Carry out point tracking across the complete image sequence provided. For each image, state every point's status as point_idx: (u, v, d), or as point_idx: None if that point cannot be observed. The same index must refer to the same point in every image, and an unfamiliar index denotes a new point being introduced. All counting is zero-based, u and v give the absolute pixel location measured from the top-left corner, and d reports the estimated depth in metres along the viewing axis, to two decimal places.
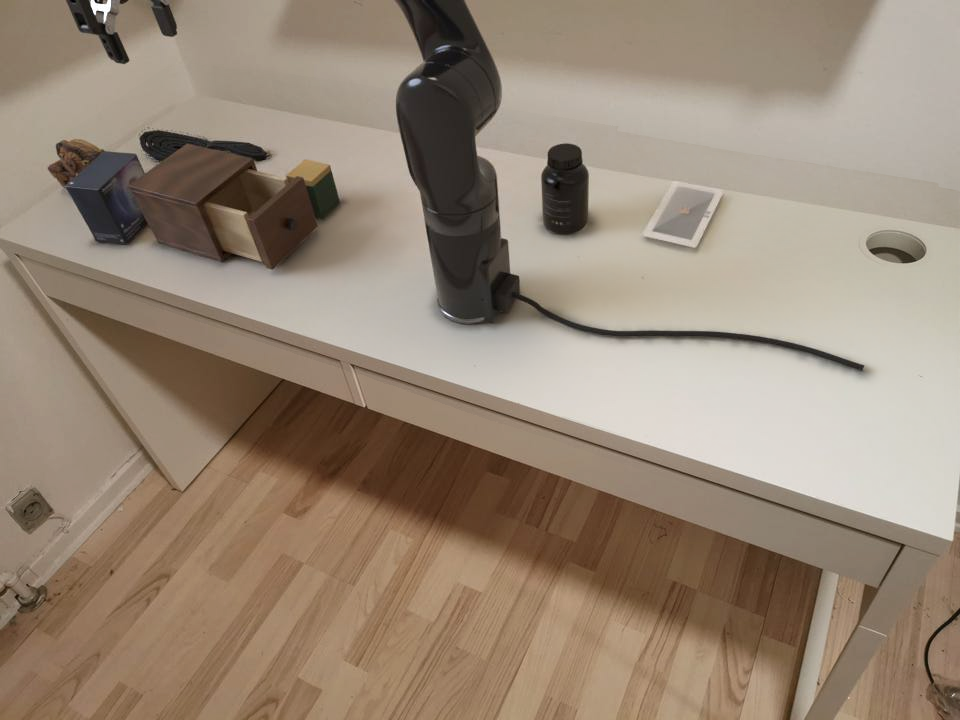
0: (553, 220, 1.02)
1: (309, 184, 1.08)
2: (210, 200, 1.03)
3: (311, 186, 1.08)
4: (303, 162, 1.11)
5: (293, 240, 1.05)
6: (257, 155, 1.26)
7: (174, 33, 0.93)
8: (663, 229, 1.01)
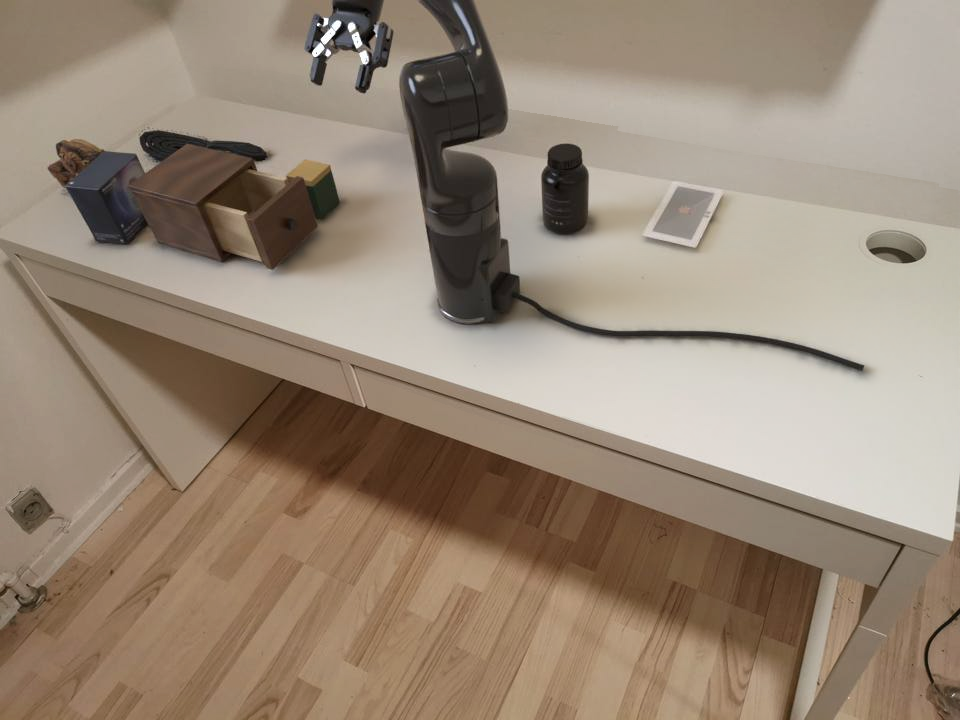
0: (553, 220, 1.02)
1: (309, 184, 1.08)
2: (210, 200, 1.03)
3: (311, 186, 1.08)
4: (303, 162, 1.11)
5: (293, 240, 1.05)
6: (257, 155, 1.26)
7: (356, 86, 1.08)
8: (663, 229, 1.01)
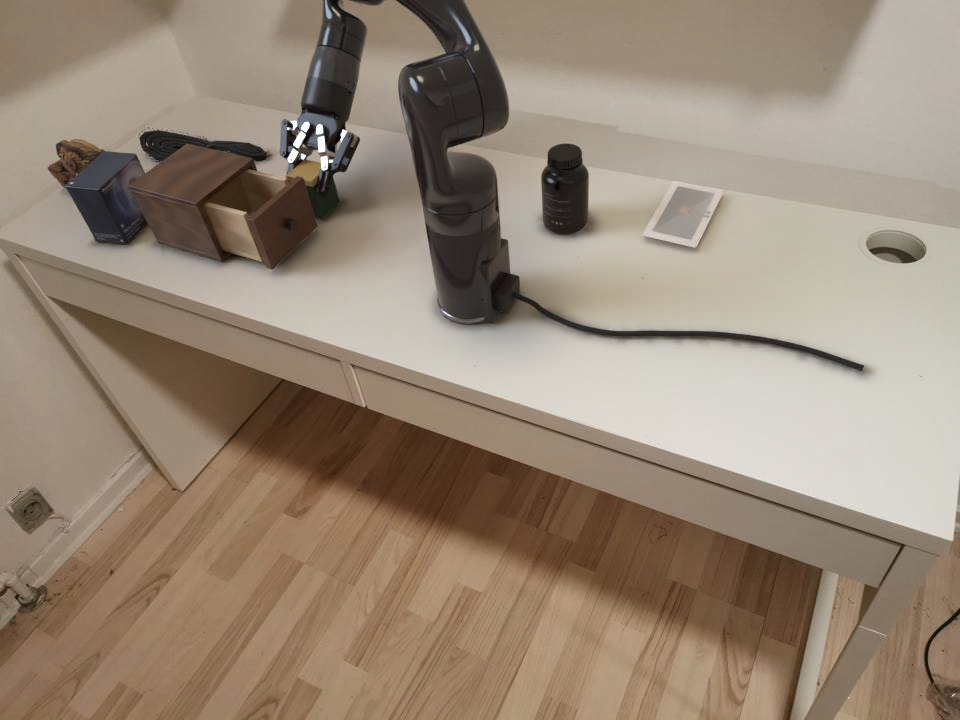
0: (553, 220, 1.02)
1: (309, 184, 1.08)
2: (210, 200, 1.03)
3: (311, 186, 1.08)
4: (303, 162, 1.11)
5: (293, 240, 1.05)
6: (257, 155, 1.26)
7: (315, 191, 1.08)
8: (663, 229, 1.01)
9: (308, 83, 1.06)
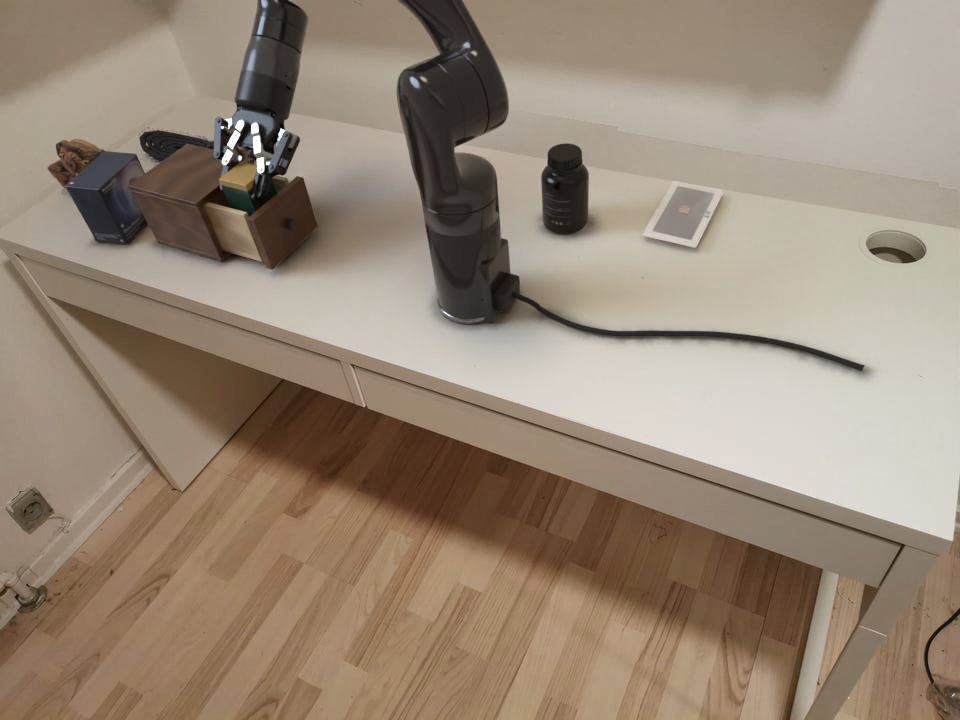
0: (553, 220, 1.02)
1: (244, 188, 0.98)
2: (210, 200, 1.03)
3: (246, 191, 0.98)
4: (239, 164, 1.01)
5: (293, 240, 1.05)
6: None
7: (251, 196, 0.98)
8: (663, 229, 1.01)
9: (241, 77, 0.96)
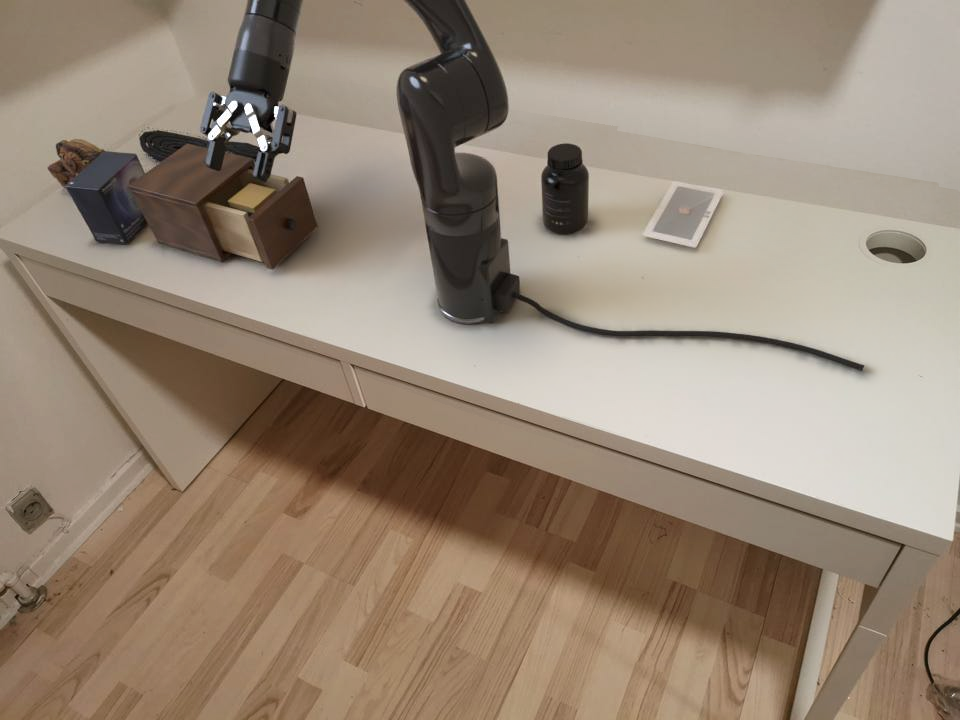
0: (553, 220, 1.02)
1: (252, 211, 1.00)
2: (210, 200, 1.03)
3: None
4: (248, 186, 1.04)
5: (293, 240, 1.05)
6: None
7: (254, 175, 0.96)
8: (663, 229, 1.01)
9: (234, 57, 0.94)
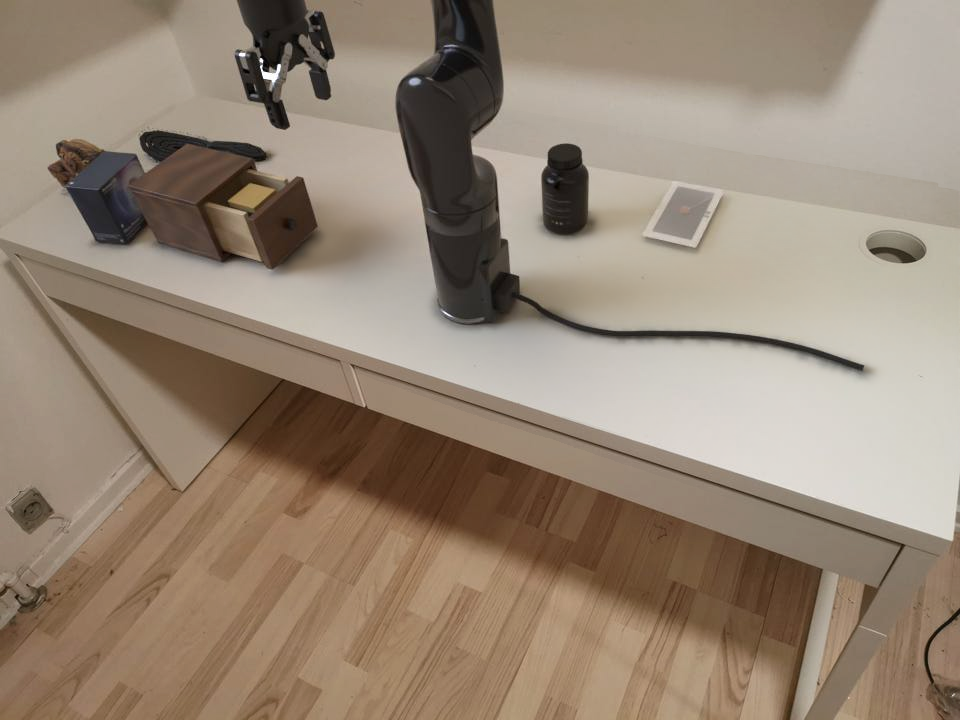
0: (553, 220, 1.02)
1: (252, 211, 1.00)
2: (210, 200, 1.03)
3: None
4: (248, 186, 1.04)
5: (293, 240, 1.05)
6: (257, 155, 1.26)
7: (328, 96, 0.93)
8: (663, 229, 1.01)
9: None
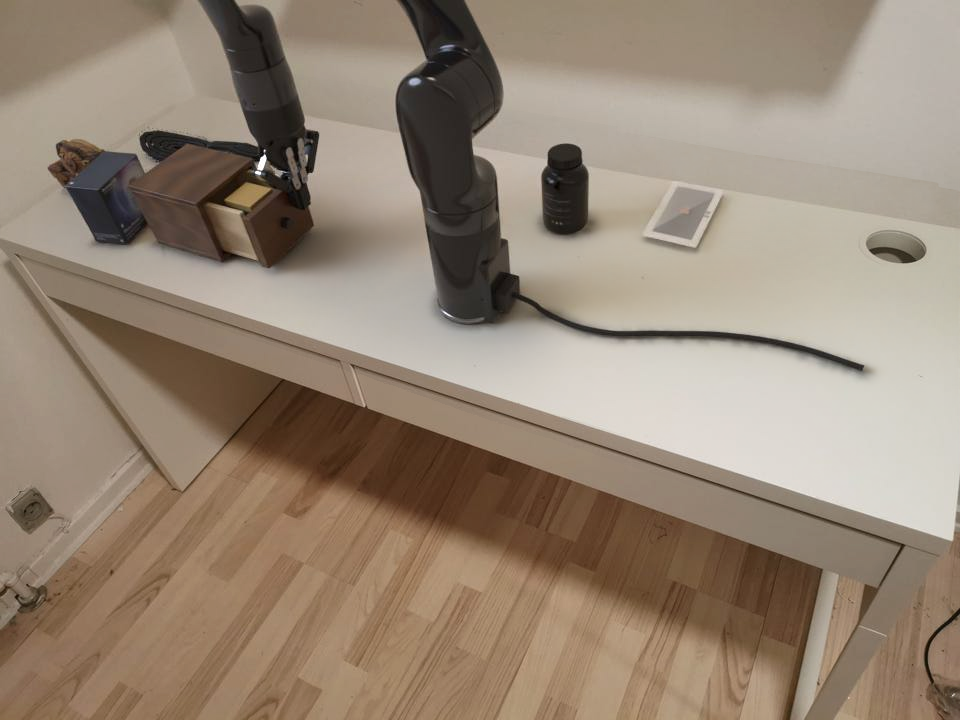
0: (553, 220, 1.02)
1: (248, 210, 1.00)
2: None
3: None
4: (244, 185, 1.04)
5: (289, 239, 1.05)
6: (257, 156, 1.26)
7: (309, 204, 1.03)
8: (663, 229, 1.01)
9: (284, 113, 0.90)
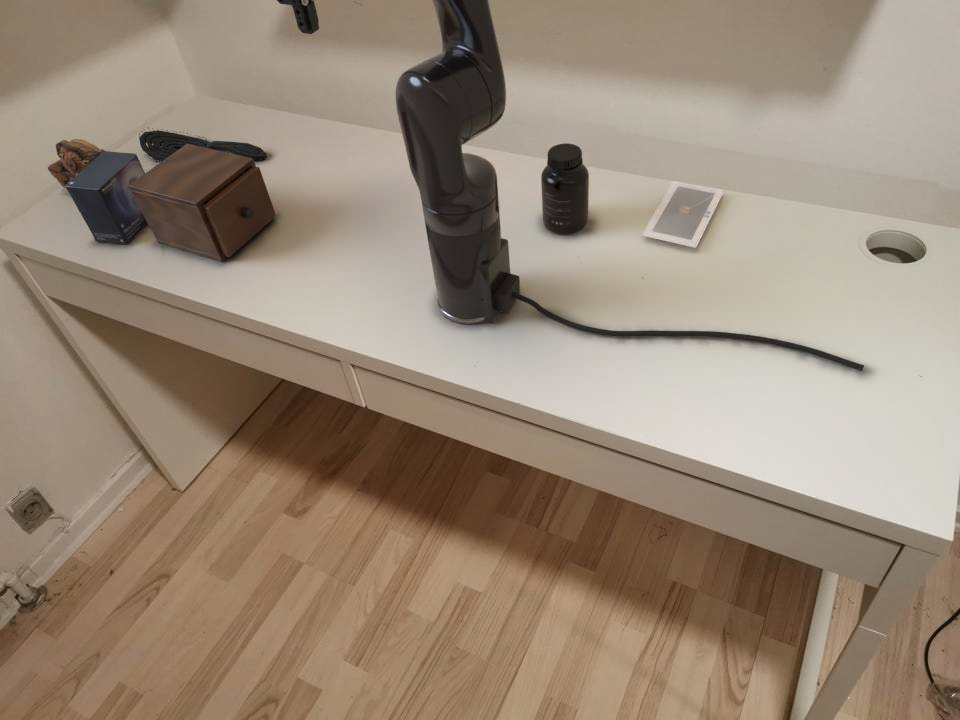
0: (553, 220, 1.02)
1: None
2: None
3: None
4: None
5: (250, 228, 1.08)
6: (257, 156, 1.26)
7: (316, 28, 0.95)
8: (663, 229, 1.01)
9: None
